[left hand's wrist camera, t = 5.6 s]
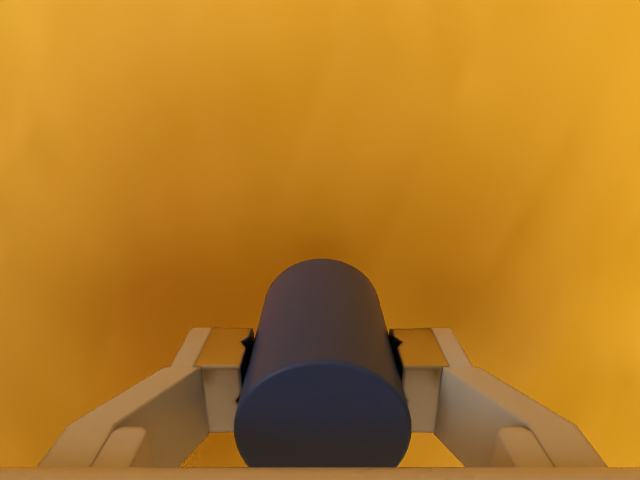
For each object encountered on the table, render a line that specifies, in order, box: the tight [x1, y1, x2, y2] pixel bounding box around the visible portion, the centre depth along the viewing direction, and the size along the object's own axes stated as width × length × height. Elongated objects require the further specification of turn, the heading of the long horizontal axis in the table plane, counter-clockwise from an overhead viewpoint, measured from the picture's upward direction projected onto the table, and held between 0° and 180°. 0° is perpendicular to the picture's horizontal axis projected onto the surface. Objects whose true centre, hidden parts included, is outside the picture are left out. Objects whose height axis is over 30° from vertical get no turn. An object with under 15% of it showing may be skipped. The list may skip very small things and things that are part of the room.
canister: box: [234, 259, 412, 467], centre depth 10 cm, size 3×3×5 cm
